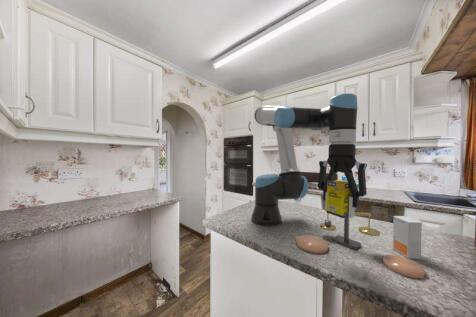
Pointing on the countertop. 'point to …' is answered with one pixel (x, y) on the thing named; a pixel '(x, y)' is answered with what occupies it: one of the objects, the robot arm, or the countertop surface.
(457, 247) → the countertop surface
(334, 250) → the countertop surface
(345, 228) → the balance
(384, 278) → the countertop surface
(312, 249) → the peach round dome
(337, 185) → the supplement box
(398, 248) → the skincare box
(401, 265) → the glossy peach dome
